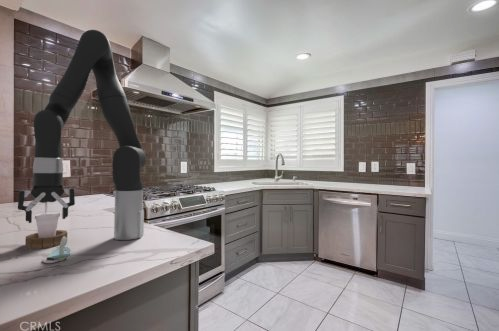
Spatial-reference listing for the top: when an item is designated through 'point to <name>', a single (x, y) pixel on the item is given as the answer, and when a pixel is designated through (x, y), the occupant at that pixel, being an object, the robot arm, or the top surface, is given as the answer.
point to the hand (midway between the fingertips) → (47, 220)
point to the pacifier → (58, 252)
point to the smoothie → (47, 223)
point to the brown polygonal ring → (44, 240)
